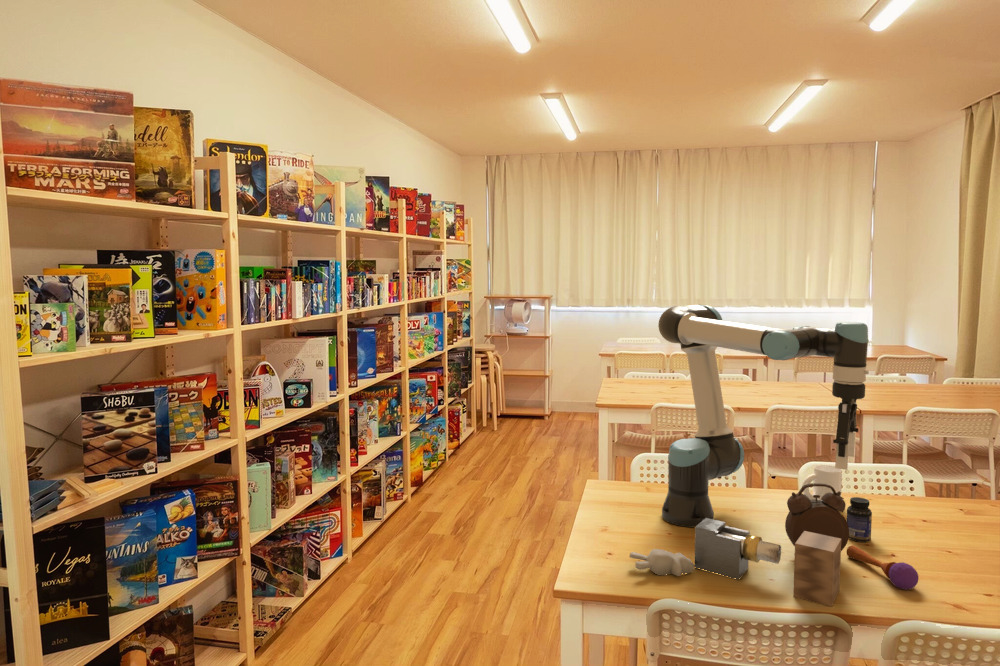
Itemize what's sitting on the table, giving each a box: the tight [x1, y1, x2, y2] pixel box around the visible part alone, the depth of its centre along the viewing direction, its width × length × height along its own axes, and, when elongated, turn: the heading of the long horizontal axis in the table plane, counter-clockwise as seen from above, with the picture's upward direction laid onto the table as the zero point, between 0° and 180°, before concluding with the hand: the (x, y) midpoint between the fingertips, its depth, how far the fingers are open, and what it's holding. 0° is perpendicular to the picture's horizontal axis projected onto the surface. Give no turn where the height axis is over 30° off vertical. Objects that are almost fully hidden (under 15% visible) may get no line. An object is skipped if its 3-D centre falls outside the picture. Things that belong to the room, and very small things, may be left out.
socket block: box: [792, 531, 842, 608], centre depth 152 cm, size 8×9×13 cm
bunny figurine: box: [629, 548, 695, 577], centre depth 164 cm, size 10×5×15 cm
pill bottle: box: [846, 496, 873, 543], centre depth 183 cm, size 6×6×11 cm
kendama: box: [846, 544, 919, 590], centre depth 162 cm, size 6×6×20 cm
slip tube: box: [717, 531, 782, 565], centre depth 162 cm, size 19×6×6 cm, turn 53°
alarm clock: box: [784, 482, 850, 556], centre depth 170 cm, size 14×7×20 cm, turn 86°
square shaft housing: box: [694, 518, 750, 580], centre depth 165 cm, size 11×8×11 cm
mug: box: [801, 464, 843, 501], centre depth 209 cm, size 8×12×12 cm
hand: (844, 462), depth 172 cm, fingers open, 13 cm apart
